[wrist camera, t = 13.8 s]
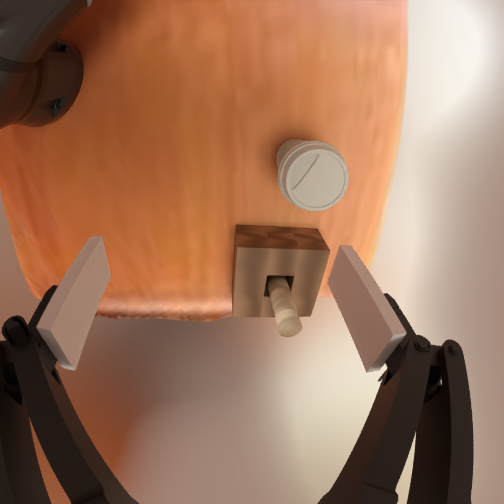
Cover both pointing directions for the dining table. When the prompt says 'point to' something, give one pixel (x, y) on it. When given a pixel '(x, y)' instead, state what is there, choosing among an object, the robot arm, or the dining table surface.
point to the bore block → (276, 267)
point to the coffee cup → (311, 174)
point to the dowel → (283, 306)
